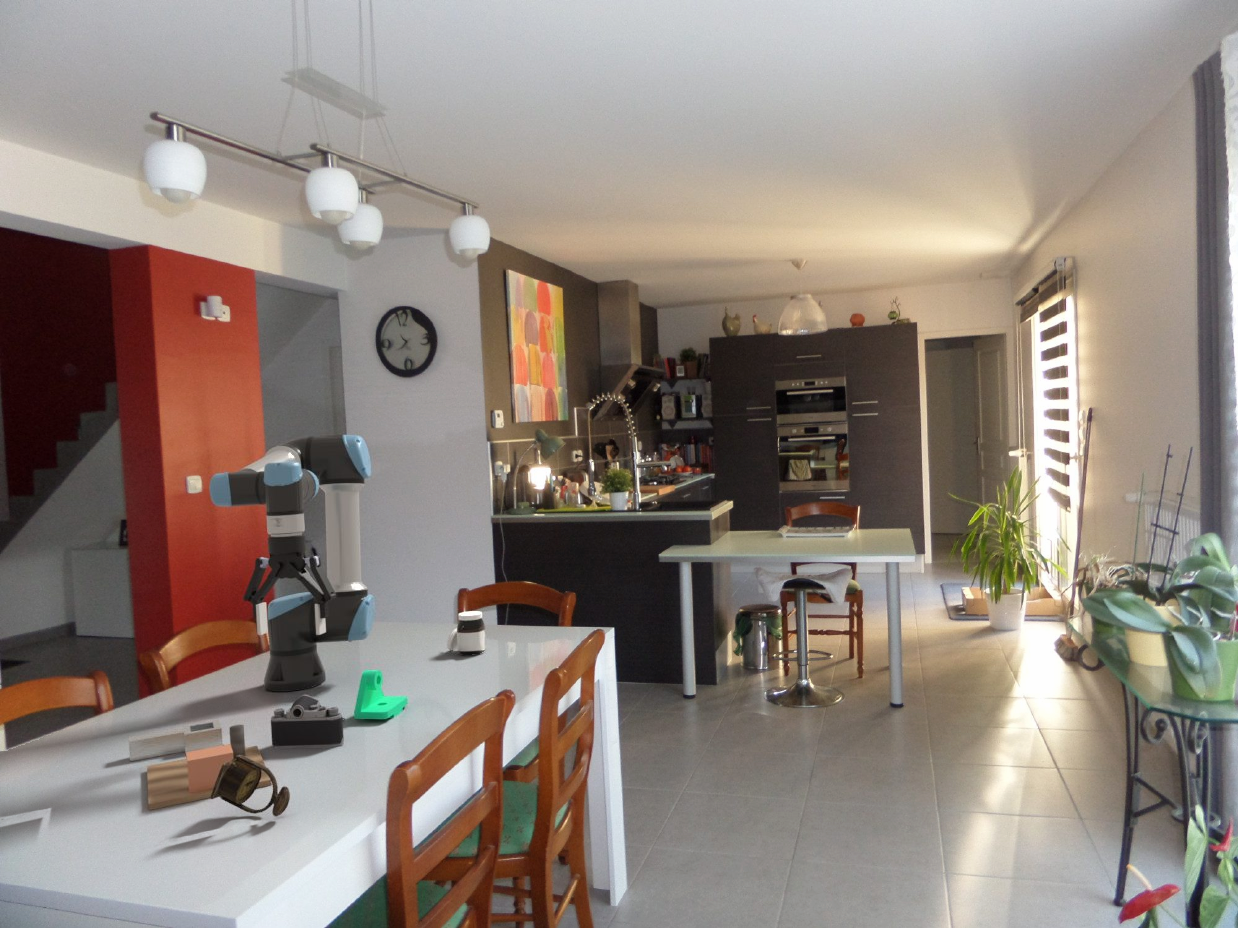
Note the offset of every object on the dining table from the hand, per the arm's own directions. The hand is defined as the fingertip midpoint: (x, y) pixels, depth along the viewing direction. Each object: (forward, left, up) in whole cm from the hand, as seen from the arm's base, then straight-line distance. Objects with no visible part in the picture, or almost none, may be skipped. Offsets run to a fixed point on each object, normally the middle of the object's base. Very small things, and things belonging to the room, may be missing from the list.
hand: (291, 633), depth 194 cm
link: (-5, -32, -22) cm, 39 cm away
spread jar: (-50, +54, -22) cm, 77 cm away
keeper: (+22, -18, -22) cm, 36 cm away
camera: (+6, +2, -22) cm, 23 cm away
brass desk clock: (+39, -13, -22) cm, 47 cm away
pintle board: (+16, -19, -22) cm, 33 cm away
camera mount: (-4, +19, -22) cm, 30 cm away
